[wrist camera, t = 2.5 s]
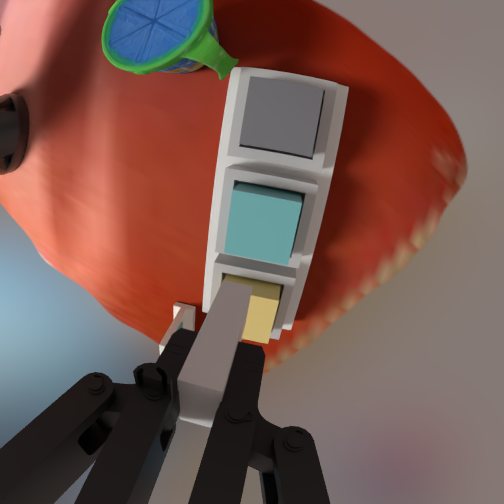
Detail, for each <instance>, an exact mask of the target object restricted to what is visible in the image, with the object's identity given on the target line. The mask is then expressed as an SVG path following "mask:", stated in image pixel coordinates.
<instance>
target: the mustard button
mask: <svg viewBox="0 0 504 504" xmlns="http://www.w3.org/2000/svg"><path fill="white" fill-rule="evenodd" d="M224 280H225V281H230V282H234V283H239V284H244V285H248V286H253V287H252V292H251V298H250V303H249V308H248V313H247V318H246V323H245V328H244V332H243V336H242V339H246V340H251V341H256V342H261V343H267V344H268V341H269V337H270V334H271V330H272V326H273V322H274V319H275V315H276V311H277V307H278V303H279V296H280V284H278V283H273V282H267V281H262V280H257V279H252V278H247V277H243V276H238V275H233V274H228V273H227V274H226V276H225V278H224Z"/></svg>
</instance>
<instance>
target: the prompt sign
mask: <svg viewBox="0 0 504 504" xmlns="http://www.w3.org/2000/svg"><path fill="white" fill-rule="evenodd" d="M195 310H196V307H195V306H191V305H187V304H183V303H179V302H176V303H175V304H174V320H173V322H172V323H171V325H170V327H169V329H168V330H167V332H166V334H165V335H164V337H163V339H162V341H161V342H160V344H159V348H160V355H161V353H162V351H163V350H164V348H165V346H166V344H167V343H168V341H169V339H170V337H171V335H172V334H173V333H174V332H176V331H177V330H178V329H180V328H184V329H188V330H192V331H195Z"/></svg>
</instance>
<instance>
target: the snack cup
mask: <svg viewBox="0 0 504 504" xmlns="http://www.w3.org/2000/svg"><path fill="white" fill-rule="evenodd" d="M108 14H109V15H108V17H107V19H106V21H105V24H104V27H103V31H102V48H103V52H104V54H105V56H106V57H107V59H108V60H109V61H110V62H111V63H112V64H113V65H114V66H116V67H118V68H120V69H122V70H125V71H128V72H134V73H135V74H149V73H151V72H166V73H189V72H192V71H195V70H197V69H199V68H201V67H202V66H204V65H206V66H208V67H210V68H212V69H213V70H215V71H217V72H218V74H219V78H220V80H223V79H224V78H225V77H226V76H227V75H228V74H229V73H230V72H231V70H232V69H233V68H234V67H235V66H236V64H237V63H238V61H239V60H238V59H234V58H232V57H231V56H229V55H228V54H227V53H226V51H225V50H224V49H223V48H222V47H221V46H220V45H219V44H218V43H219V36H218V30H217V26H216V24H215V19H214V16H213V14H214V10H213V0H117V1H116V2H115V3H114V4H113V6H112V7H111V8H110V10H109V11H108Z"/></svg>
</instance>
